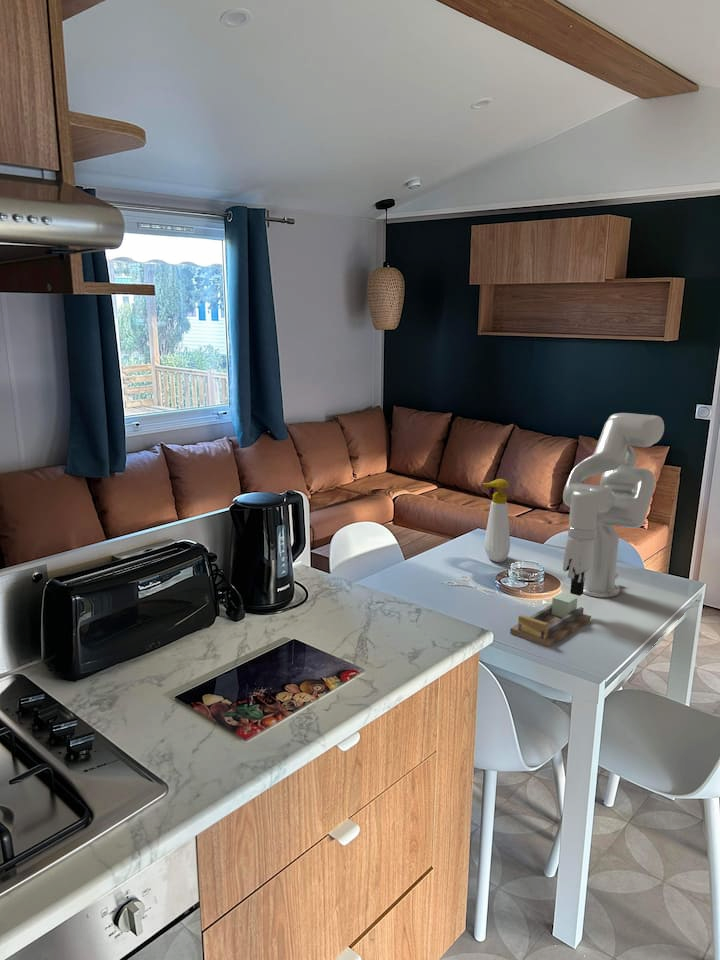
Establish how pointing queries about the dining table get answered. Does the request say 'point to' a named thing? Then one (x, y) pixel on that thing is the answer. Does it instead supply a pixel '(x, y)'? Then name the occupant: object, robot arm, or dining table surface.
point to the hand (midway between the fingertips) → (576, 593)
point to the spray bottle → (498, 524)
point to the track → (549, 626)
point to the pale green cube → (563, 605)
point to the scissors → (468, 585)
